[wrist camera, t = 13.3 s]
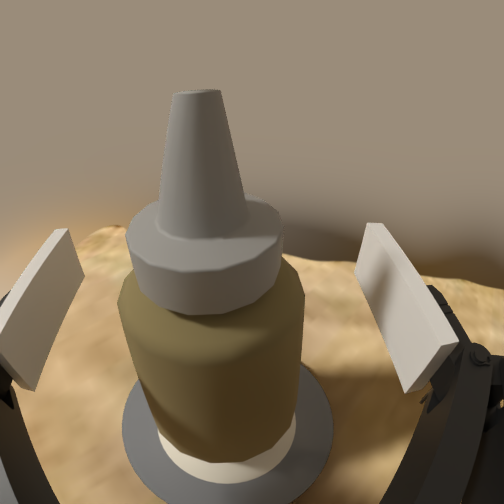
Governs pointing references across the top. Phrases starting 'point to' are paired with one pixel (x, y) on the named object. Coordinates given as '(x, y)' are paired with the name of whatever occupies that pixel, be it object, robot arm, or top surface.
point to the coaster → (236, 473)
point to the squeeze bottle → (212, 297)
